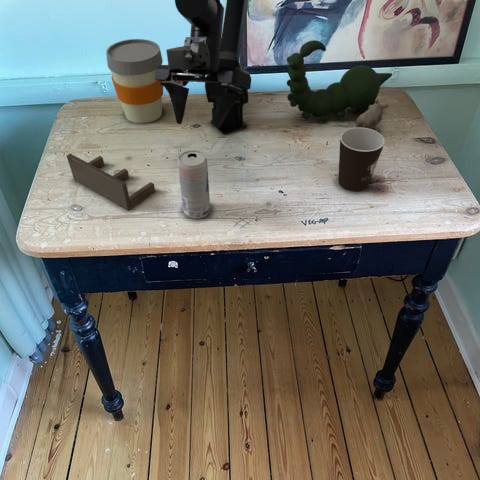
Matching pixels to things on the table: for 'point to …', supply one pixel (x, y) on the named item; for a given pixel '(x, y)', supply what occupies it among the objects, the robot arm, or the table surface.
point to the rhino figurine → (371, 116)
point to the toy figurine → (332, 87)
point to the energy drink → (194, 183)
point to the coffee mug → (358, 157)
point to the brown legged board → (107, 182)
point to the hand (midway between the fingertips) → (197, 125)
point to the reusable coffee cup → (137, 78)
